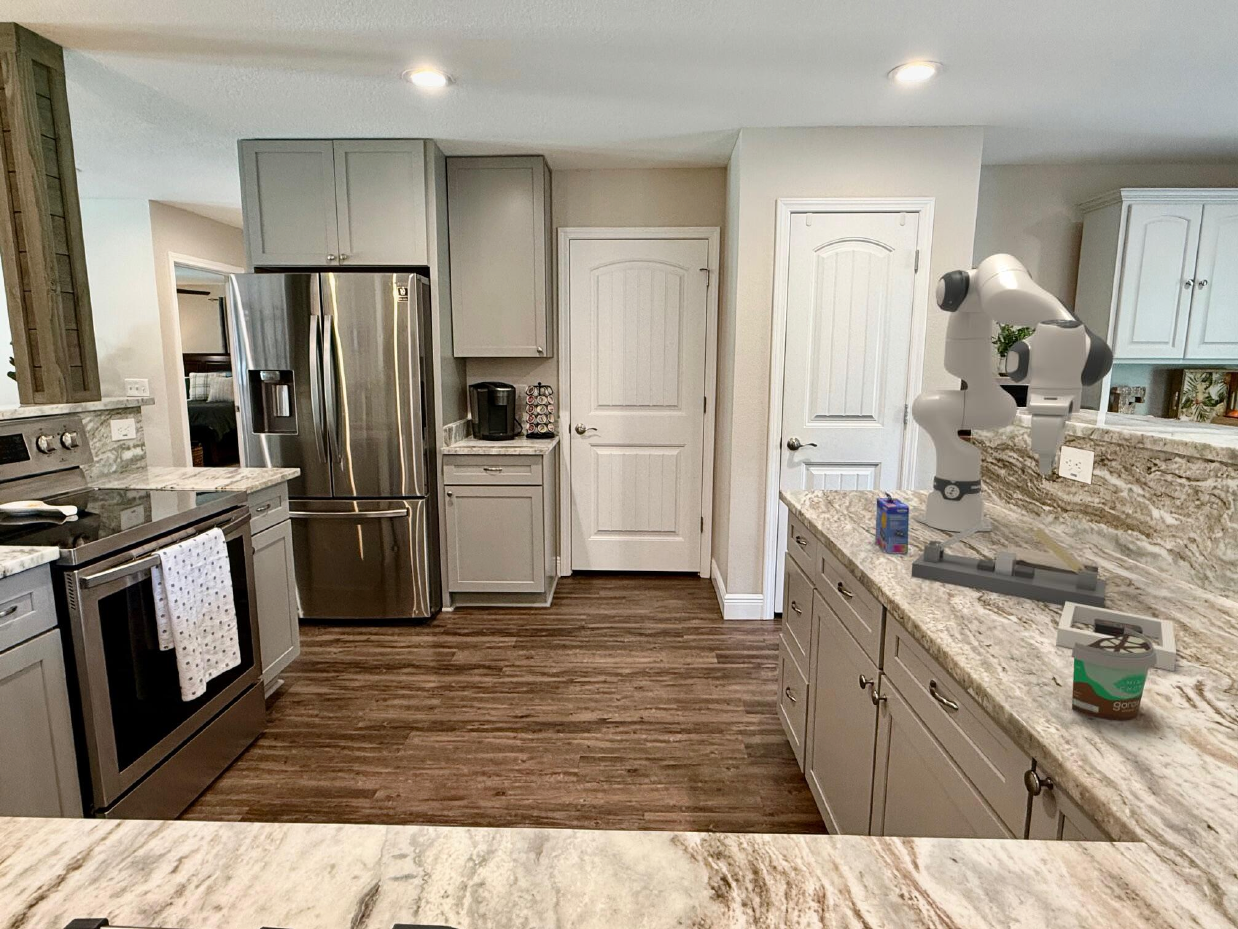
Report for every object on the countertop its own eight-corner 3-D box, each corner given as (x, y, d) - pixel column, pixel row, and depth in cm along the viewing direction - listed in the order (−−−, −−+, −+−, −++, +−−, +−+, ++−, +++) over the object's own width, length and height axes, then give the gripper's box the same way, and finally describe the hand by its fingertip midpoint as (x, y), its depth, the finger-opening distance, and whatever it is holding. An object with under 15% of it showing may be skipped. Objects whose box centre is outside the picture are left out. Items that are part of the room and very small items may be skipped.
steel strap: (934, 554, 144) (929, 547, 144) (987, 525, 136) (981, 518, 137) (931, 557, 142) (926, 550, 142) (984, 528, 134) (979, 521, 135)
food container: (1114, 735, 81) (1124, 662, 79) (1064, 711, 87) (1072, 642, 85) (1169, 713, 86) (1179, 644, 84) (1119, 691, 91) (1127, 626, 90)
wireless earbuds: (1147, 651, 104) (1149, 633, 104) (1093, 641, 108) (1095, 624, 107) (1142, 641, 108) (1144, 623, 107) (1090, 632, 112) (1093, 614, 111)
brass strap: (1033, 532, 131) (1040, 526, 130) (1088, 580, 126) (1096, 574, 125) (1031, 535, 129) (1039, 529, 128) (1087, 584, 124) (1095, 578, 123)
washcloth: (1006, 554, 157) (1007, 542, 156) (1095, 572, 144) (1096, 559, 143) (990, 565, 149) (991, 553, 148) (1082, 585, 136) (1083, 571, 135)
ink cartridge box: (873, 542, 167) (876, 489, 164) (895, 543, 166) (898, 489, 164) (885, 554, 157) (888, 497, 154) (908, 554, 156) (912, 497, 154)
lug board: (925, 562, 150) (927, 536, 149) (1104, 594, 129) (1108, 563, 128) (911, 576, 141) (913, 548, 140) (1102, 612, 119) (1106, 580, 118)
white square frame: (1064, 616, 118) (1065, 601, 117) (1169, 637, 109) (1172, 621, 108) (1056, 644, 106) (1057, 628, 106) (1173, 671, 97) (1176, 653, 97)
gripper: (1040, 399, 135) (1034, 463, 137) (1027, 405, 119) (1020, 477, 121) (1076, 400, 131) (1069, 466, 133) (1068, 406, 115) (1060, 481, 117)
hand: (1046, 471), depth 127 cm, fingers open, 5 cm apart
